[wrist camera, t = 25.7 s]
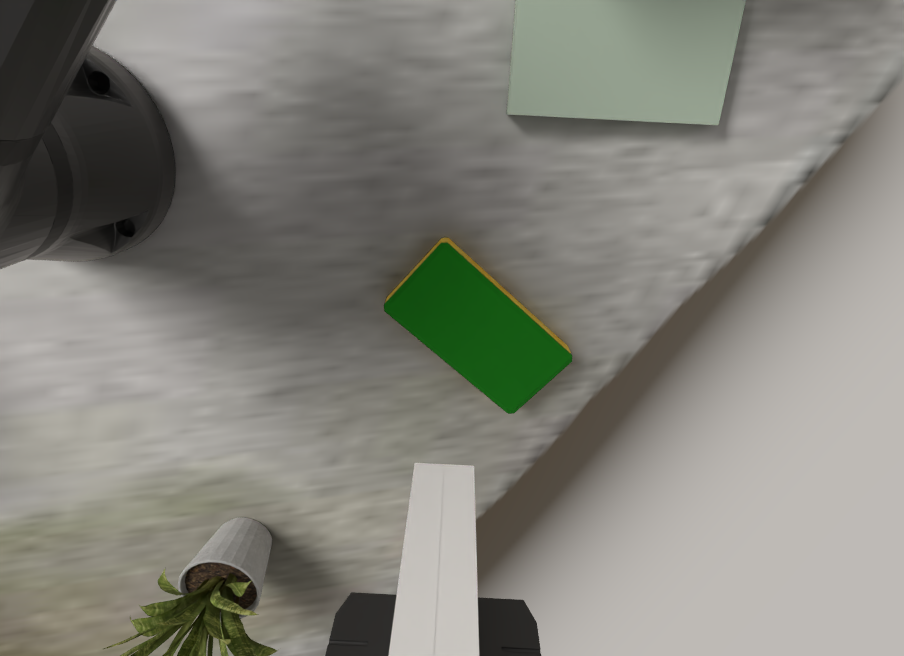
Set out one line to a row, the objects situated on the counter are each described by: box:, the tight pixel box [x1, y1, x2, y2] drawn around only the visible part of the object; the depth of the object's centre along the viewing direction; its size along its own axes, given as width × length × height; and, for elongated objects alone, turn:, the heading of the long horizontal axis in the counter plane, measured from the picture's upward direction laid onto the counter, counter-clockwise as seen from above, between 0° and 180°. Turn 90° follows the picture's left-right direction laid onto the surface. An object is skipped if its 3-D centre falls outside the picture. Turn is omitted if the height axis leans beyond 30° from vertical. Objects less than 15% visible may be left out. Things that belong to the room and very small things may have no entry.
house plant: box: [104, 517, 279, 656], centre depth 46 cm, size 14×14×16 cm
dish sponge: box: [384, 238, 572, 414], centre depth 43 cm, size 7×14×2 cm, turn 48°
